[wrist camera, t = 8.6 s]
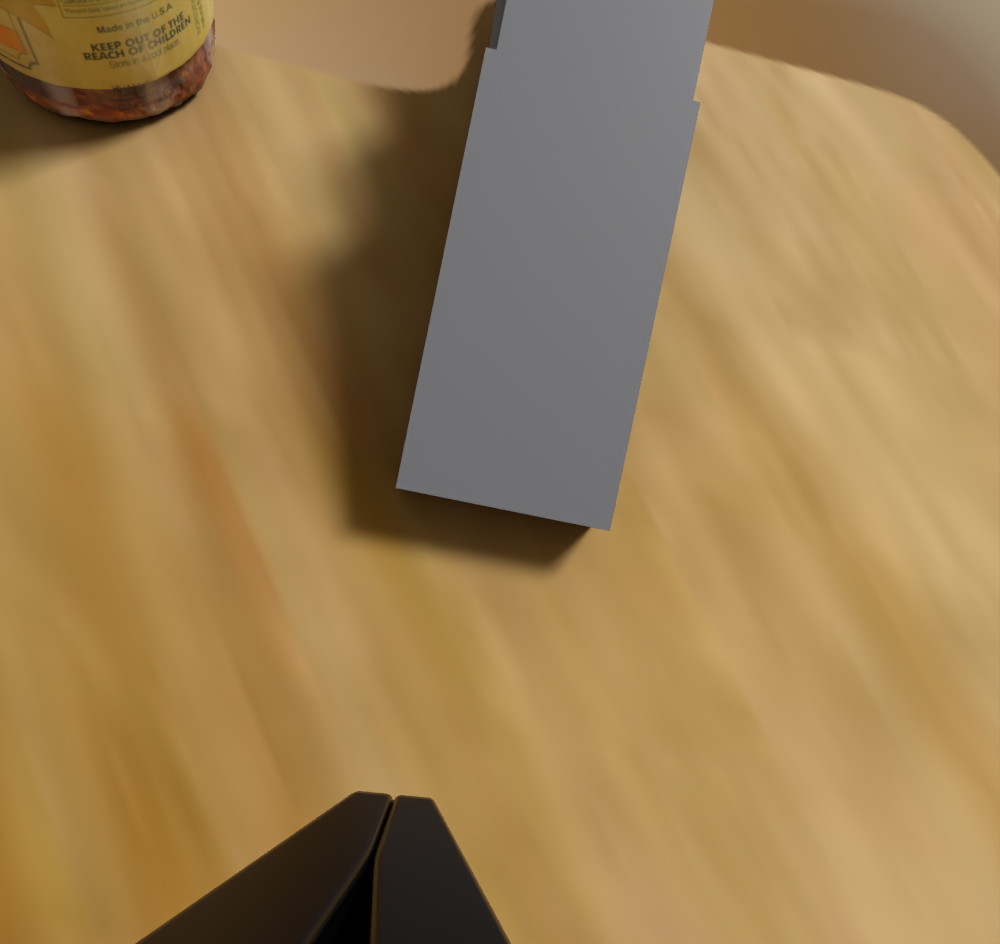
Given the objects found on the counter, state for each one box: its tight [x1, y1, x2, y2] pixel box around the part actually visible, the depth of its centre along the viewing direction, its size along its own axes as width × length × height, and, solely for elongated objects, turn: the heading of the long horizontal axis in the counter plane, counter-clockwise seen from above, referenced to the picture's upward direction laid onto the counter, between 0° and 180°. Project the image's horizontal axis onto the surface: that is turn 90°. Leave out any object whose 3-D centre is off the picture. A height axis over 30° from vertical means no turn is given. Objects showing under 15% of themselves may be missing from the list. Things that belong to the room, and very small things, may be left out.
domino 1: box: [497, 0, 714, 100], centre depth 20 cm, size 2×5×10 cm
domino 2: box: [396, 47, 700, 531], centre depth 18 cm, size 2×5×10 cm
